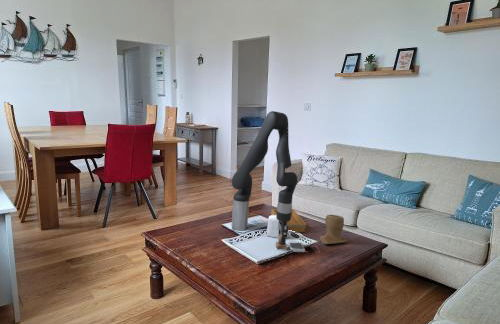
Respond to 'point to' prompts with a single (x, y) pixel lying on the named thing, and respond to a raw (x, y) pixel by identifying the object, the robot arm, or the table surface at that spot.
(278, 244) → the hand stamp
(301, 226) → the tray
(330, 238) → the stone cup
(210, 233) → the table surface
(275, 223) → the photo printer
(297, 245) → the ink pad
